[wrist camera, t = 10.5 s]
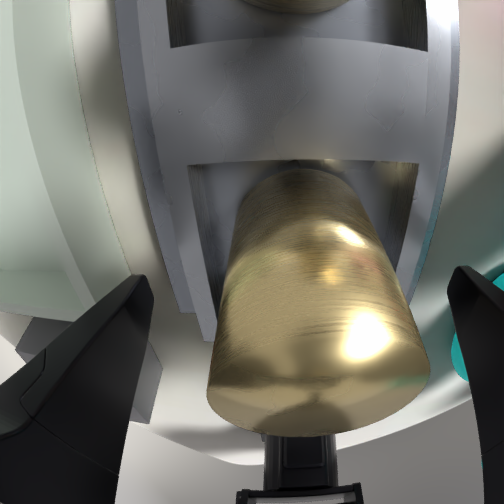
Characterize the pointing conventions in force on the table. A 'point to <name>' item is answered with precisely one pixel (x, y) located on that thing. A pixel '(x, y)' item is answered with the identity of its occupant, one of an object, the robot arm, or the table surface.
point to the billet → (311, 315)
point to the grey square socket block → (49, 329)
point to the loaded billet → (297, 5)
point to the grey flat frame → (287, 120)
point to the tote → (49, 173)
